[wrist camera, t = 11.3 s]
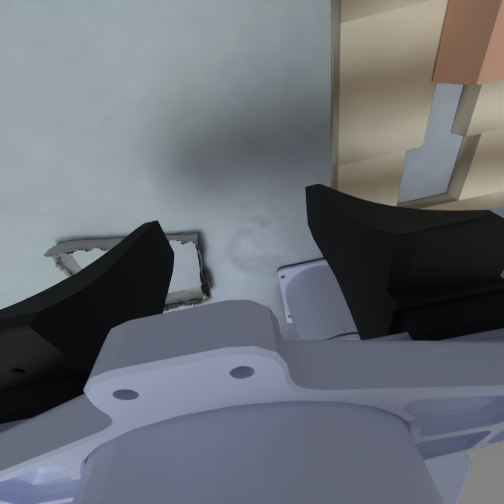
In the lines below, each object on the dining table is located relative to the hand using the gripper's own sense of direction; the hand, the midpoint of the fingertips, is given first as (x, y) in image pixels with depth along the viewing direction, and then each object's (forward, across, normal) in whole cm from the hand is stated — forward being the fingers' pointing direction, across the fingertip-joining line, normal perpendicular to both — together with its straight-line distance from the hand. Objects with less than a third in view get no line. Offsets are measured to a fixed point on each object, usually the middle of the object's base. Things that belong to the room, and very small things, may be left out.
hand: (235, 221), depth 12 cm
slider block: (+9, -16, -4) cm, 19 cm away
